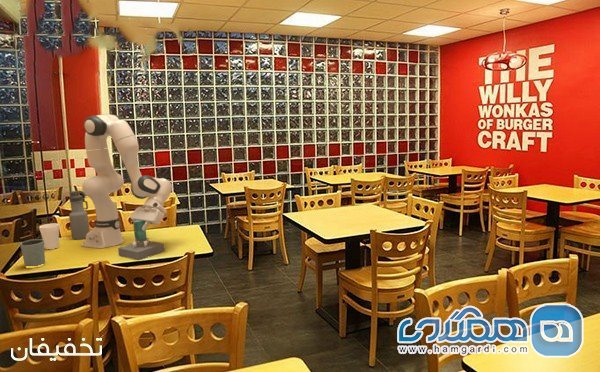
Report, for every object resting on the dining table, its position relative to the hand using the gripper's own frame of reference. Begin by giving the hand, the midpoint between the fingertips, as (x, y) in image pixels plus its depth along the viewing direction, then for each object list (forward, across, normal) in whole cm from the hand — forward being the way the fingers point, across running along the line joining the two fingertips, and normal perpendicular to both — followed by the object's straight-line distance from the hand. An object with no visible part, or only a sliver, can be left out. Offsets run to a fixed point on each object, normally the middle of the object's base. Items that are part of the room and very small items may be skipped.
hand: (138, 229), depth 231 cm
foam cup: (+21, -54, -3) cm, 58 cm away
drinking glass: (+35, -32, -17) cm, 51 cm away
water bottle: (+6, -61, +11) cm, 62 cm away
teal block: (+4, 0, +5) cm, 6 cm away
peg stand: (+9, 0, +9) cm, 13 cm away
